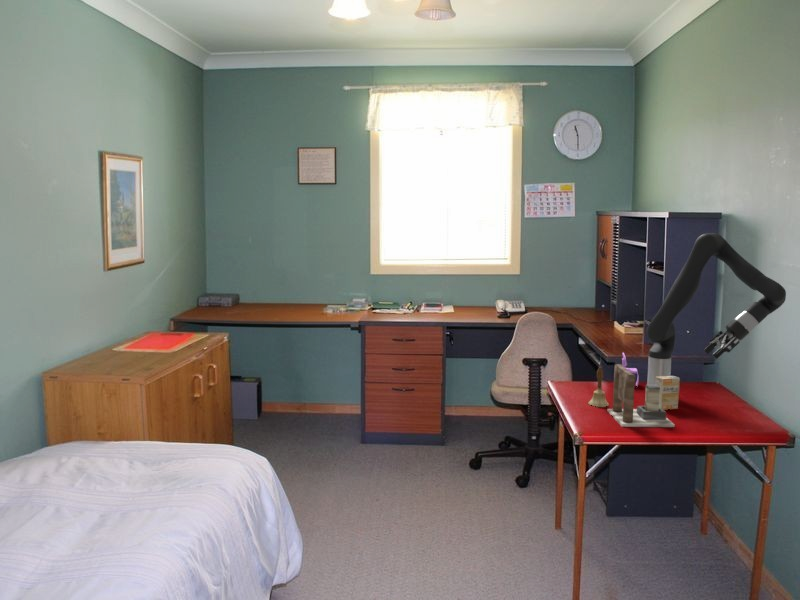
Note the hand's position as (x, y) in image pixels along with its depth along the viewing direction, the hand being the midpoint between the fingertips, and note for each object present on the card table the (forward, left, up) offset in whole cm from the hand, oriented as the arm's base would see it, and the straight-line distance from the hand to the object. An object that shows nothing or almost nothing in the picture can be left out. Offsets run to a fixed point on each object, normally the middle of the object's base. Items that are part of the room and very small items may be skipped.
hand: (709, 354), depth 278 cm
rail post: (+2, -22, -24) cm, 32 cm away
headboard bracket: (+2, -26, -25) cm, 36 cm away
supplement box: (-13, -11, -25) cm, 30 cm away
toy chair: (-51, -15, -25) cm, 59 cm away
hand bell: (-18, -37, -25) cm, 48 cm away
